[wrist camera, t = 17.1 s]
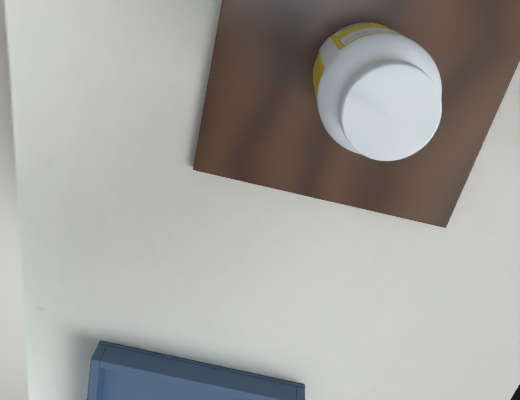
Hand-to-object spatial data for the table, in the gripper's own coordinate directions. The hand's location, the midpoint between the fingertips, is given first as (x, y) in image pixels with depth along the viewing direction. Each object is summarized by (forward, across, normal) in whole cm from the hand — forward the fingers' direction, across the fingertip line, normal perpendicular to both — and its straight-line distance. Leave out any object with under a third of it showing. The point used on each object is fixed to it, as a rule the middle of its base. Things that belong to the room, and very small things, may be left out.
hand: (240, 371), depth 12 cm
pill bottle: (+26, +5, +4) cm, 26 cm away
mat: (+26, +5, +4) cm, 27 cm away
